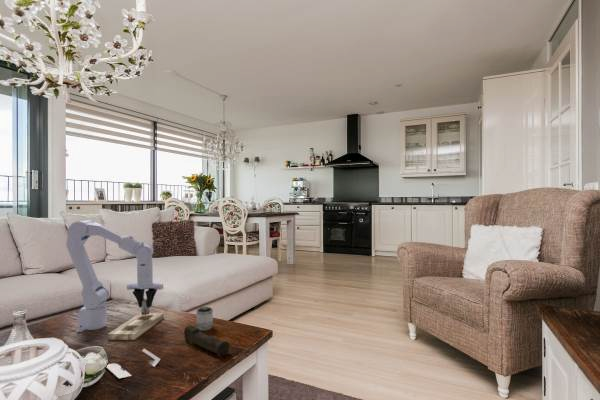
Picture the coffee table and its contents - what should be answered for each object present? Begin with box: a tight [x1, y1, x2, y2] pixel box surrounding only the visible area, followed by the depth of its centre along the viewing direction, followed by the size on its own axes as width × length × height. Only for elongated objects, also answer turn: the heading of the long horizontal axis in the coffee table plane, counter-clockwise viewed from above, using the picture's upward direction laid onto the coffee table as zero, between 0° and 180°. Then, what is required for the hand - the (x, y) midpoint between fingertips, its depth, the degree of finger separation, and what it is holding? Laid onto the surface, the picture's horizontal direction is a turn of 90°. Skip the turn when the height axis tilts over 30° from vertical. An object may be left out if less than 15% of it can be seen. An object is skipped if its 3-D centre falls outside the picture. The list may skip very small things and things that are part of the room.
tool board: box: [107, 312, 165, 341], centre depth 128 cm, size 10×22×3 cm, turn 177°
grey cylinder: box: [140, 297, 150, 315], centre depth 134 cm, size 3×3×6 cm
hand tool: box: [183, 324, 230, 359], centre depth 113 cm, size 23×5×6 cm, turn 50°
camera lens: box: [195, 306, 214, 332], centre depth 130 cm, size 6×6×8 cm
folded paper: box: [106, 348, 161, 379], centre depth 100 cm, size 12×12×2 cm
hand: (145, 306), depth 134 cm, fingers closed on grey cylinder, 3 cm apart
